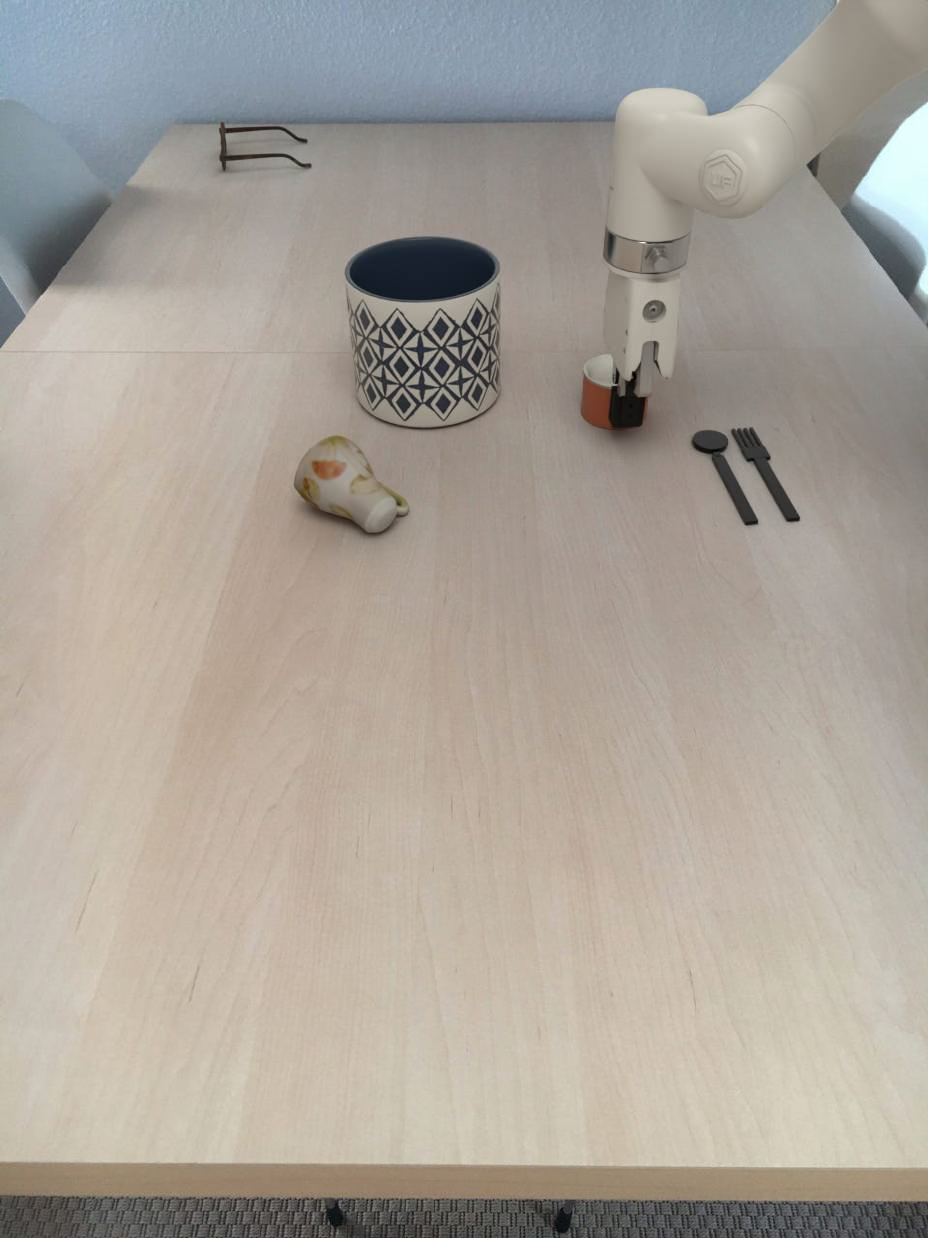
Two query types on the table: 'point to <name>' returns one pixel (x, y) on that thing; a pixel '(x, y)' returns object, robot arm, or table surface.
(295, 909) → the table surface
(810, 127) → the robot arm
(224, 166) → the eyeglasses
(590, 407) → the orange cup
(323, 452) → the mug
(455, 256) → the planter
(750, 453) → the fork
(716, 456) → the spoon
